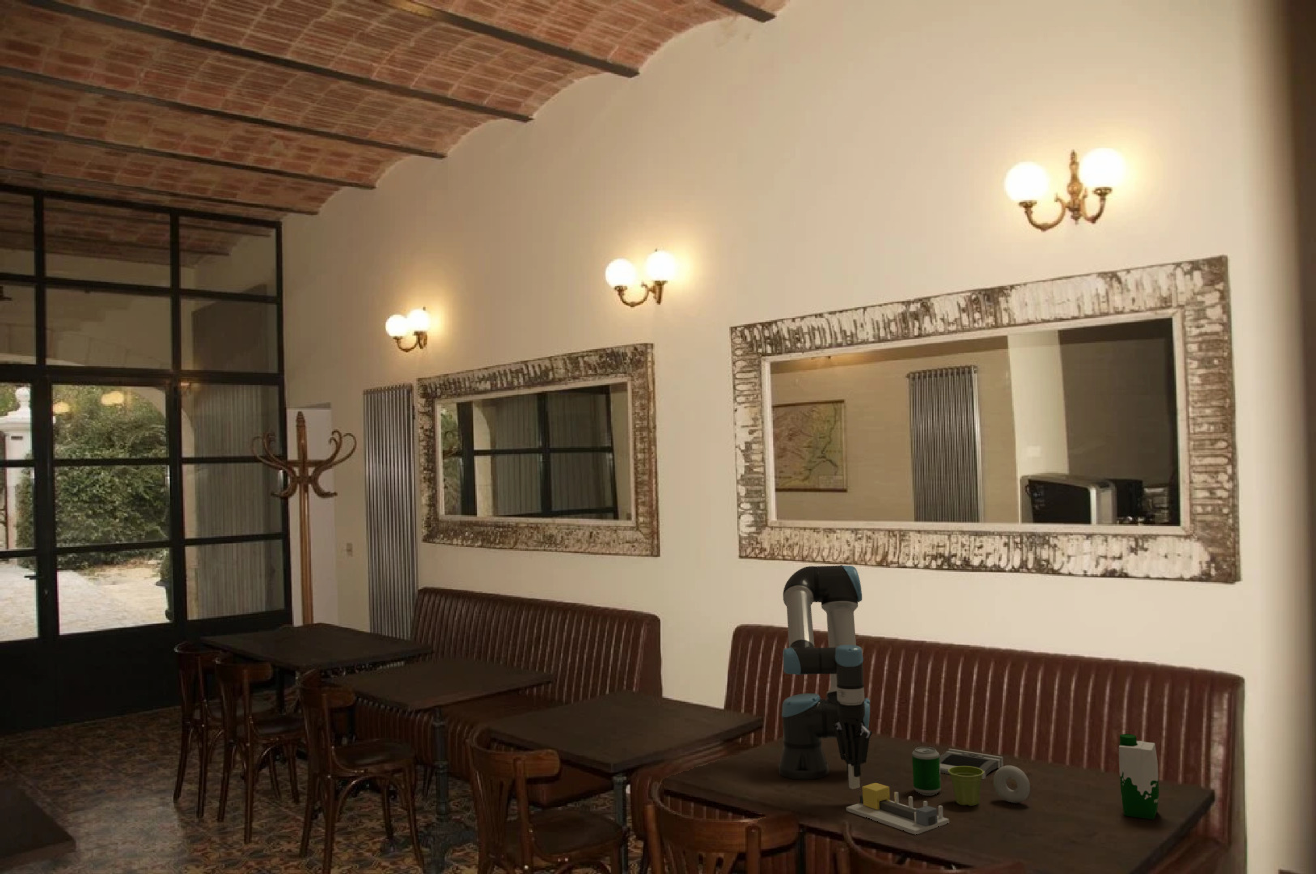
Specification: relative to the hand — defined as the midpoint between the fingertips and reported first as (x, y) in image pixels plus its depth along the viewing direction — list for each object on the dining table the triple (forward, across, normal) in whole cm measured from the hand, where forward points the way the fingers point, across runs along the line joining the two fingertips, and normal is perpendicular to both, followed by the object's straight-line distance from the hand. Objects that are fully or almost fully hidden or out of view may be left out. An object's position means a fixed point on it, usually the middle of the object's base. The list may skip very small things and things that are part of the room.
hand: (854, 787), depth 283 cm
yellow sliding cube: (+3, +8, 0) cm, 8 cm away
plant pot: (+5, +20, +23) cm, 31 cm away
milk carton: (+5, +55, +49) cm, 74 cm away
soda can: (+5, +7, +22) cm, 24 cm away
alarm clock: (+5, 0, +48) cm, 48 cm away
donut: (+5, +28, +32) cm, 43 cm away
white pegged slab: (+4, +15, 0) cm, 16 cm away
